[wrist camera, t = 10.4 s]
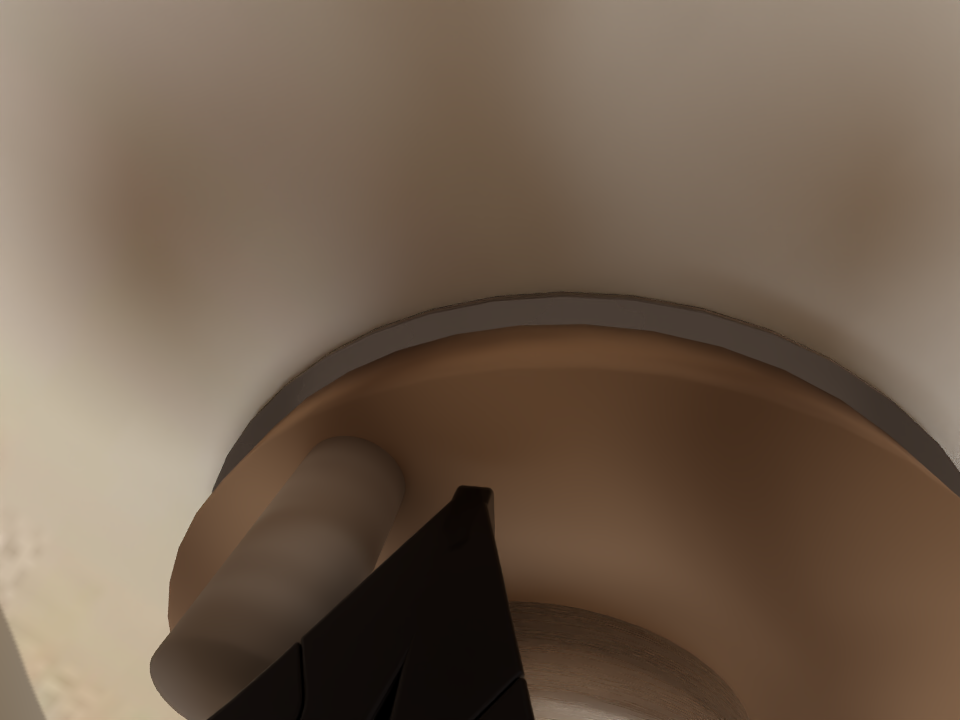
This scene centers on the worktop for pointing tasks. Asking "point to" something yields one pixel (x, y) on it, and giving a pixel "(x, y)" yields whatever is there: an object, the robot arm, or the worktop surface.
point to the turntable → (596, 517)
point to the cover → (613, 670)
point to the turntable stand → (612, 314)
